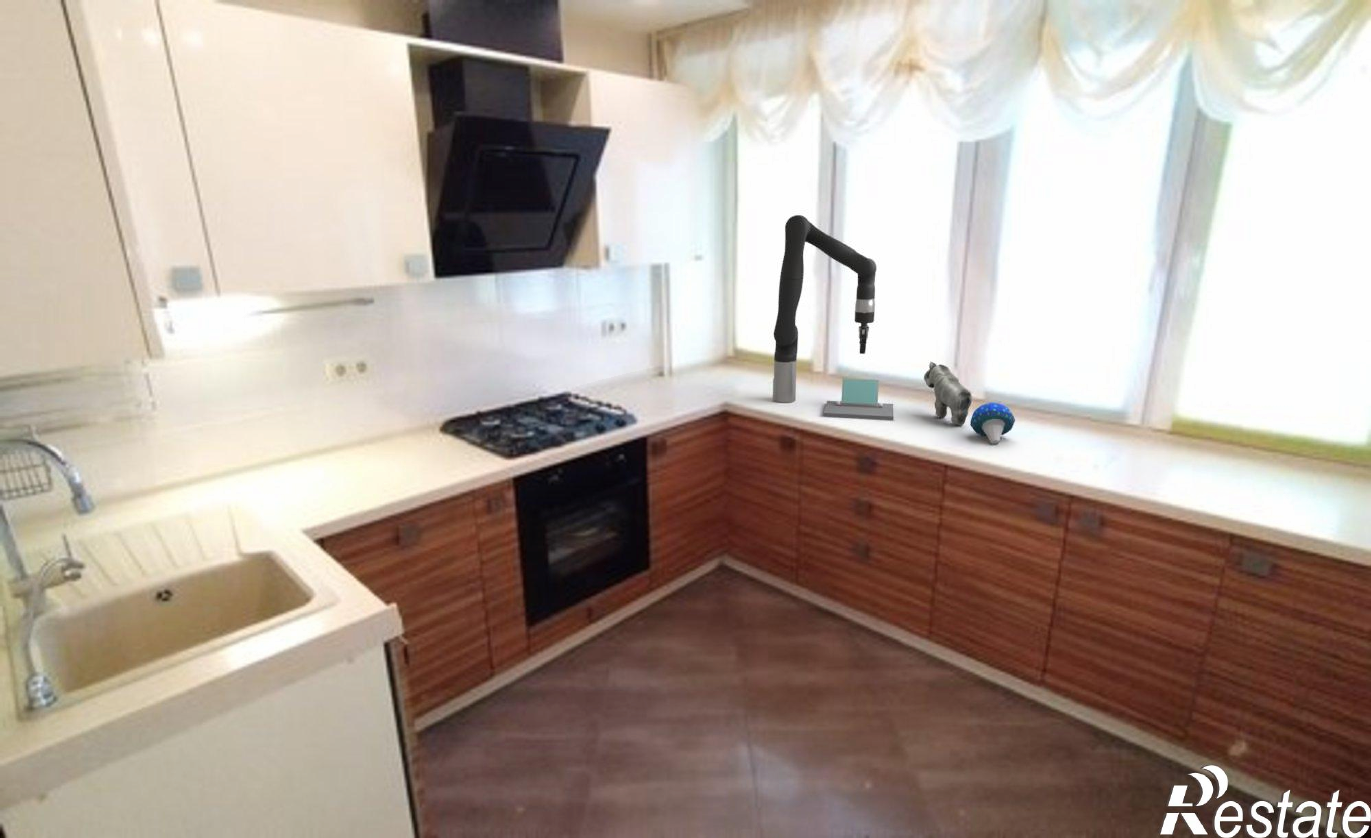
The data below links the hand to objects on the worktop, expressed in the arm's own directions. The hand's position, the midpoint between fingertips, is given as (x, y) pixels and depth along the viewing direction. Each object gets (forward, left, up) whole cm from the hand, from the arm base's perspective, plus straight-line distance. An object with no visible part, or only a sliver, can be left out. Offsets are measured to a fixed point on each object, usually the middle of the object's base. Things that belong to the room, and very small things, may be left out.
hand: (862, 351), depth 268 cm
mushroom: (+45, -37, -22) cm, 62 cm away
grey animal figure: (+31, -16, -22) cm, 41 cm away
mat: (0, -13, -21) cm, 25 cm away
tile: (0, -8, -15) cm, 17 cm away
